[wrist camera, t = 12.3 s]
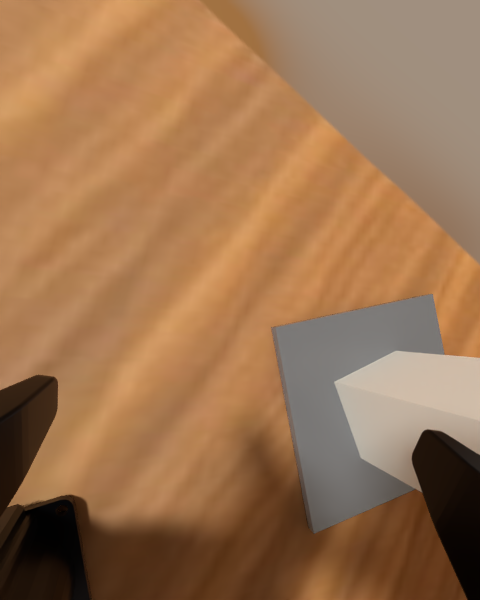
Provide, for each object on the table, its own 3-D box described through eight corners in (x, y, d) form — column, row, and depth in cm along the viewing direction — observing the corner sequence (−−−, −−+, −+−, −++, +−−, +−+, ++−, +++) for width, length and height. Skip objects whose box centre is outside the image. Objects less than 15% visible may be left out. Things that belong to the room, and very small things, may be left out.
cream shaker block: (361, 458, 21) (535, 556, 12) (334, 381, 21) (490, 423, 12) (420, 421, 23) (614, 484, 14) (395, 350, 22) (575, 366, 13)
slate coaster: (458, 463, 24) (466, 466, 23) (308, 527, 20) (313, 533, 20) (425, 294, 24) (432, 293, 24) (271, 327, 20) (275, 327, 20)
